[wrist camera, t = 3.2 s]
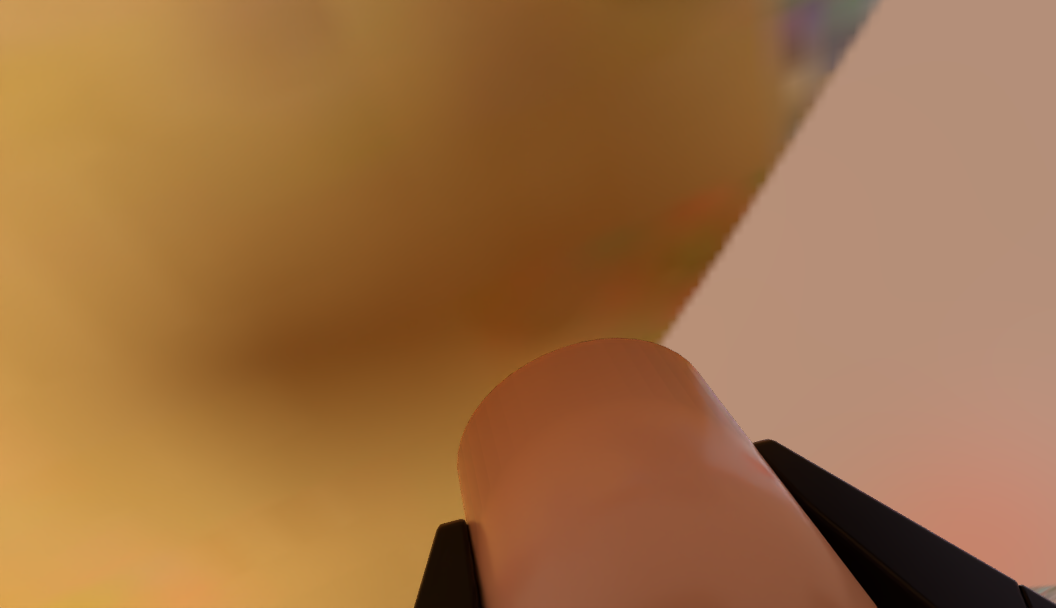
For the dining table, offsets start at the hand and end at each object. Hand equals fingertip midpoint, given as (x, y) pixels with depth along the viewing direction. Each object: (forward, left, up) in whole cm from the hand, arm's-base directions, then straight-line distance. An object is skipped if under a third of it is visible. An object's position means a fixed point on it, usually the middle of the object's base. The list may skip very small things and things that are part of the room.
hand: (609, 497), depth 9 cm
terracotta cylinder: (0, 0, -1) cm, 1 cm away
